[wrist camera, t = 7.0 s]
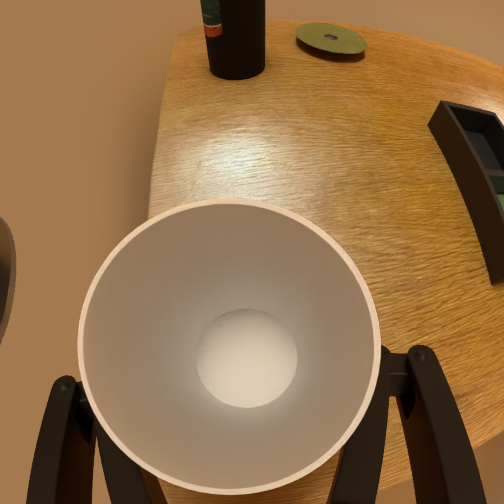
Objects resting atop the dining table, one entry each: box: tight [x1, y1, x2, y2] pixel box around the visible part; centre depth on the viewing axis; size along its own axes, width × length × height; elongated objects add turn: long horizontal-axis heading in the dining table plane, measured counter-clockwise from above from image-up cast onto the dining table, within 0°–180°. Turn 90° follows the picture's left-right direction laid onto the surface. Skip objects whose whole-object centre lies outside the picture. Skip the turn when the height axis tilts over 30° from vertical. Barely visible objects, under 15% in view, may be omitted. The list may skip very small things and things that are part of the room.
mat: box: [296, 23, 367, 54], centre depth 37 cm, size 11×11×2 cm
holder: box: [428, 100, 504, 285], centre depth 25 cm, size 11×21×5 cm, turn 6°
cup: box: [78, 198, 381, 495], centre depth 14 cm, size 8×8×16 cm
